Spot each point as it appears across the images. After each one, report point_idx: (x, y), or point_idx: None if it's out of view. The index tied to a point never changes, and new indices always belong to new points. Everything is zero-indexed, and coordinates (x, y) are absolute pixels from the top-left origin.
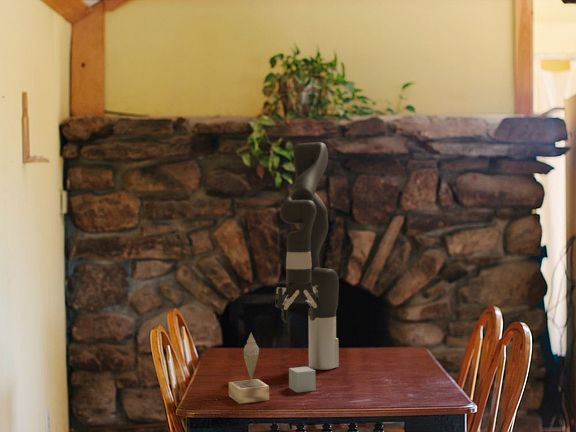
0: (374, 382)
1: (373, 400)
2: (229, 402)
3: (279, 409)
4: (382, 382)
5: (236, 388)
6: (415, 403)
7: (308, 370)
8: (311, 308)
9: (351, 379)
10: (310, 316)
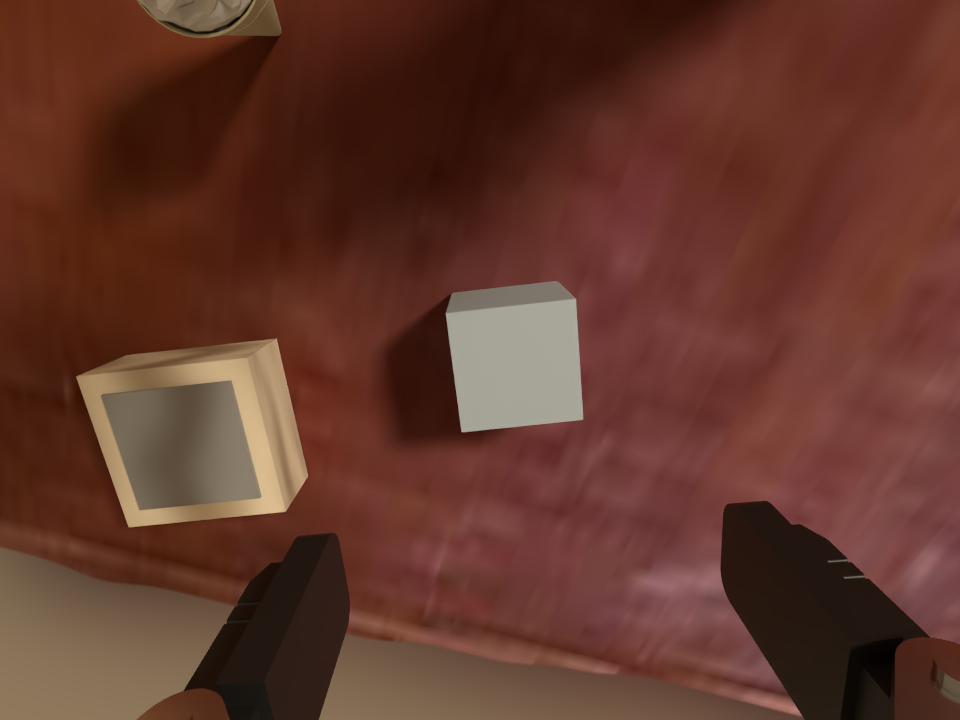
0: (917, 322)
1: None
2: None
3: None
4: (954, 335)
5: (120, 492)
6: None
7: (544, 405)
8: (835, 706)
9: (844, 220)
10: (749, 546)
